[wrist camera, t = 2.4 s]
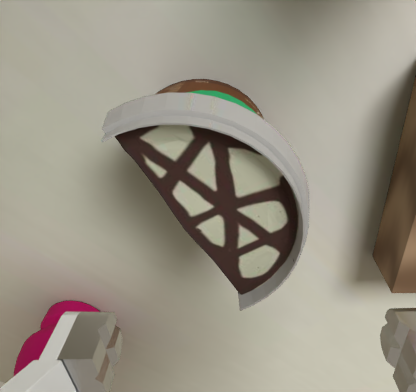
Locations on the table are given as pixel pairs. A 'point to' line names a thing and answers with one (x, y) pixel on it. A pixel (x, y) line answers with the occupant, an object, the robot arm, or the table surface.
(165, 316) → the table surface
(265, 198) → the food container
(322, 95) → the table surface
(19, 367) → the pepper mill
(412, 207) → the walnut base
